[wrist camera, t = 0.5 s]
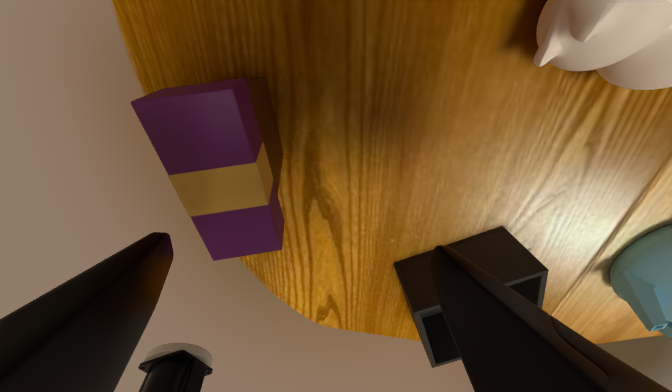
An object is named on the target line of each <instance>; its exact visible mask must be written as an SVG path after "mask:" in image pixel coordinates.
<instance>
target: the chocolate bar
mask: <svg viewBox="0 0 672 392" xmlns="http://www.w3.org/2000/svg"><path fill="white" fill-rule="evenodd" d="M131 105H132V107H133V108H134V110H135V112H136V114H137V116H138V118H139V120H140V122H141V124H142V126H143V128H144V129H145V131H146V133H147V135H148V137H149V139H150V141H151V143H152V145H153V147H154V148H155V150H156V152H157V154H158V156H159V158H160V160H161V162H162V164H163V165H164V167H165V169H166V171H167V173H168V177H169V178H170V180H171V182H172V184H173V186H174V188H175V190H176V192H177V194H178V196H179V198H180V200H181V201H182V203H183V205H184V207H185V209H186V211H187V213H188V215H189V216H190V217H191V219H192V221H193V223H194V224H195V226H196V228H197V230H198V232H199V234H200V236H201V238H202V240H203V241H204V243H205V245H206V247H207V249H208V251H209V253H210V255H211V257H212V259H213V260H214V261H215V260H221V259H227V258H234V257H240V256H246V255H252V254H258V253H265V252H271V251H277V250H282V244H283V232H284V217H283V214H282V210H281V206H280V203H279V199H278V195H277V192H276V188H275V185H274V181H273V176H272V172H271V168H270V165H269V161H268V157H267V154H266V150H265V146H264V143H263V141H262V137H261V134H260V130H259V126H258V123H257V119H256V116H255V112H254V108H253V105H252V101H251V97H250V94H249V90H248V86H247V83H246V80H245V78H241V79H233V80H226V81H218V82H210V83H203V84H195V85H188V86H180V87H173V88H165V89H161V90H158V91H156V92H153V93H151V94H149V95H146V96H144V97H141V98H139V99H136V100H134V101H132V102H131Z"/></svg>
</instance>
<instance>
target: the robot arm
mask: <svg viewBox="0 0 672 392" xmlns="http://www.w3.org/2000/svg"><path fill="white" fill-rule="evenodd" d="M172 260H173V248H172V244H171V239H170V235H169V234H168V233H160V232H158V233H157V232H154V233H151V234H149V235H147V236H145V237H144V238H142V239H140V240H138V241H137V242H135V243H133V244H131V245H130V246H128V247H126V248H124V249H123V250H121V251H119V252H117V253H116V254H114V255H112V256H110V257H109V258H107V259H105V260H103V261H102V262H100V263H98V264H96V265H95V266H93V267H91V268H89V269H88V270H86V271H84V272H82V273H81V274H79V275H77V276H75V277H74V278H72V279H70V280H68V281H67V282H65V283H63V284H61V285H59V286H58V287H56V288H54V289H52V290H51V291H49V292H47V293H46V294H44V295H42V296H40V297H39V298H37V299H35V300H33V301H32V302H30V303H28V304H26V305H24V306H23V307H21V308H19V309H18V310H16V311H14V312H12V313H10V314H9V315H7V316H5V317H4V318H2V319H0V392H114V390H115V388H116V386H117V384H118V382H119V380H120V378H121V376H122V374H123V372H124V370H125V368H126V366H127V364H128V362H129V360H130V358H131V356H132V354H133V352H134V350H135V348H136V346H137V344H138V342H139V340H140V338H141V336H142V334H143V332H144V330H145V328H146V326H147V324H148V321H149V319H150V317H151V316H152V313H153V311H154V309H155V307H156V304H157V302H158V299H159V297H160V294H161V291H162V288H163V285H164V282H165V280H166V277H167V274H168V272H169V269H170V266H171V263H172ZM428 268H429V272H430V275H431V278H432V282H433V285H434V288H435V292H436V295H437V298H438V302H439V305H440V307H441V310H442V313H443V315H444V318H445V320H446V323H447V325H448V327H449V330H450V332H451V335H452V337H453V340H454V342H455V345H456V347H457V349H458V352H459V354H460V357H461V359H462V362H463V364H464V366H465V369H466V371H467V374H468V376H469V379H470V381H471V384H472V386H473V389H474V391H475V392H672V391H670V390H668V389H667V388H665V387H663V386H662V385H660V384H658V383H656V382H655V381H653V380H652V379H650V378H649V377H647V376H645V375H644V374H642V373H640V372H639V371H637V370H635V369H634V368H632V367H631V366H629V365H627V364H626V363H624V362H623V361H621V360H619V359H618V358H616V357H614V356H613V355H611V354H610V353H608V352H606V351H605V350H603V349H602V348H600V347H598V346H597V345H595V344H594V343H592V342H590V341H589V340H587V339H586V338H584V337H583V336H581V335H580V334H578V333H576V332H575V331H573V330H572V329H570V328H569V327H567V326H566V325H564V324H563V323H561V322H560V321H558V320H557V319H555V318H554V317H553V316H551V315H549V314H548V313H546V312H545V311H544V310H542V309H541V308H539V307H538V306H536V305H535V304H533V303H532V302H530V301H529V300H527V299H526V298H524V297H523V296H521V295H520V294H518V293H517V292H515V291H514V290H512V289H511V288H509V287H508V286H506V285H505V284H504V283H502V282H501V281H499V280H498V279H496V278H495V277H493V276H492V275H490V274H489V273H487V272H486V271H484V270H483V269H481V268H480V267H478V266H477V265H475V264H474V263H472V262H471V261H469V260H468V259H467V258H465V257H464V256H462V255H461V254H459V253H458V252H456V251H455V250H453V249H452V248H450V247H449V246H440V245H439V246H436V247H435V249H434V251H433V253H432V255H431V257H430V259H429V261H428ZM138 368H139V369H140V370H142V371H144V372H146V373H147V375H146V377H145V379H144V381H143V384H142V386H141V388H140V390H139V392H200V390H201V387H202V383H203V380H204V376H207V375H210V374H211V373H212V370H213V369H212V368H210V367H209V366H207V365H206V364H205V363H203V362H202V361H200V360H199V359H197V358H196V357H194V356H193V355H191V354H190V353H188V352H187V351H185V350H178V351H175V352H172V353H170V354H167V355H164V356H161V357H158V358H155V359H152V360H149V361H146V362H143V363H141V364H140V365H139V367H138Z"/></svg>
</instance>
